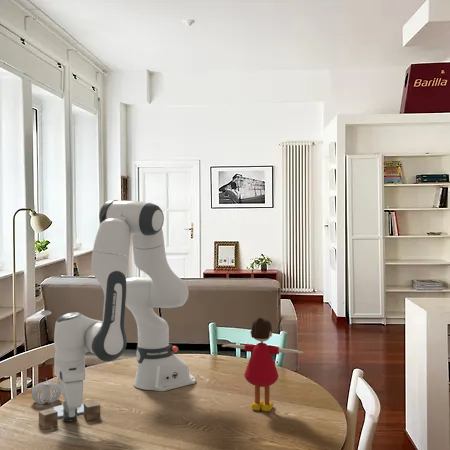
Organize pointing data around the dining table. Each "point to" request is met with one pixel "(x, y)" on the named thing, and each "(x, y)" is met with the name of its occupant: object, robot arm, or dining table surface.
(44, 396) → the pendant light
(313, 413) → the dining table surface
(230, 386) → the dining table surface
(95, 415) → the walnut cube
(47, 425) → the walnut cube
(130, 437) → the dining table surface
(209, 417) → the dining table surface
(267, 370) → the toy
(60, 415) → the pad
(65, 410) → the metal cylinder
